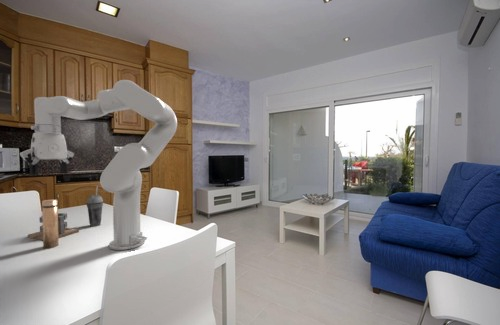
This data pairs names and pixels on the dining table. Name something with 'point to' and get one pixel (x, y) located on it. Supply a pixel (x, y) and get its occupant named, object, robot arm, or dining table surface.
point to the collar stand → (61, 228)
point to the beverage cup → (95, 209)
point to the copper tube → (50, 223)
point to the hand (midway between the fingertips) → (50, 174)
